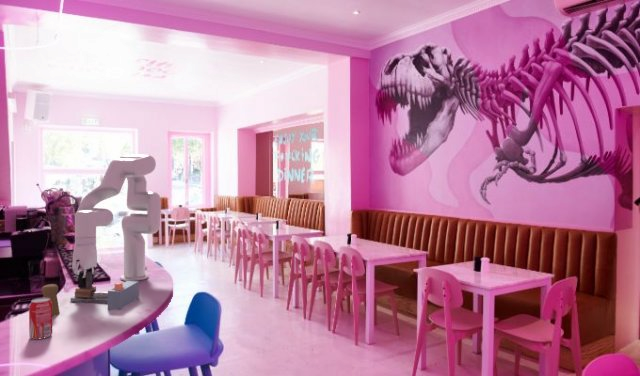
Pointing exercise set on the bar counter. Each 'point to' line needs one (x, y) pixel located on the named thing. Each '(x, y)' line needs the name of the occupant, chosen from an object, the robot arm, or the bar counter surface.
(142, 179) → the robot arm
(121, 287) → the button
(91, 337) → the bar counter surface
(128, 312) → the bar counter surface
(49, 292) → the cork
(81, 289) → the carriage
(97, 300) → the rail
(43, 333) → the beverage can
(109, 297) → the cabinet
